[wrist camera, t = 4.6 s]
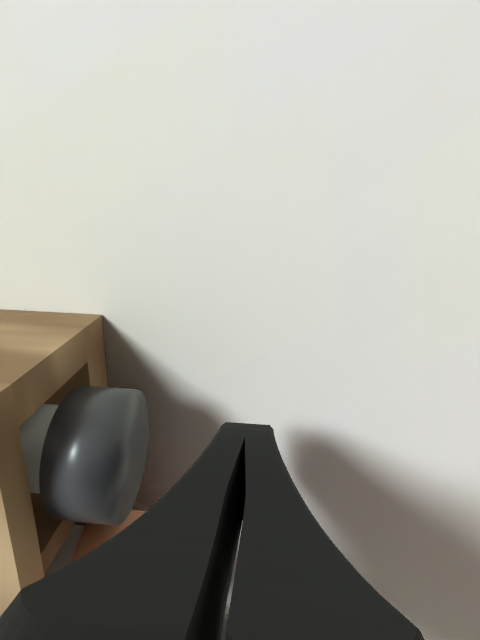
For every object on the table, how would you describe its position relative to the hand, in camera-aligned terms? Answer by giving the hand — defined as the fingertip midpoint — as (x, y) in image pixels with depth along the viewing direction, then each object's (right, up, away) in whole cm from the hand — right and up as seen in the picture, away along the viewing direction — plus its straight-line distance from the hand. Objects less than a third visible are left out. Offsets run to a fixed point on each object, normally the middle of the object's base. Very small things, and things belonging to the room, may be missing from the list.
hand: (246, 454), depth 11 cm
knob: (-6, +1, +2) cm, 7 cm away
